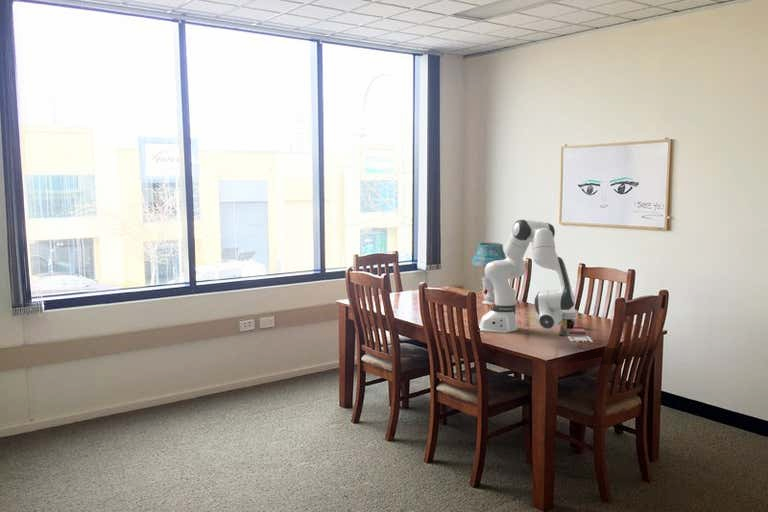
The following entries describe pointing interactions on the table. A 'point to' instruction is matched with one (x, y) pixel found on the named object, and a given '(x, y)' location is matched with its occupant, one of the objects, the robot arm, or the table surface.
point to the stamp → (563, 328)
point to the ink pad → (576, 331)
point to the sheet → (579, 338)
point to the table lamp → (482, 258)
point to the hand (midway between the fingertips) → (559, 310)
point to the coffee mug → (570, 322)
